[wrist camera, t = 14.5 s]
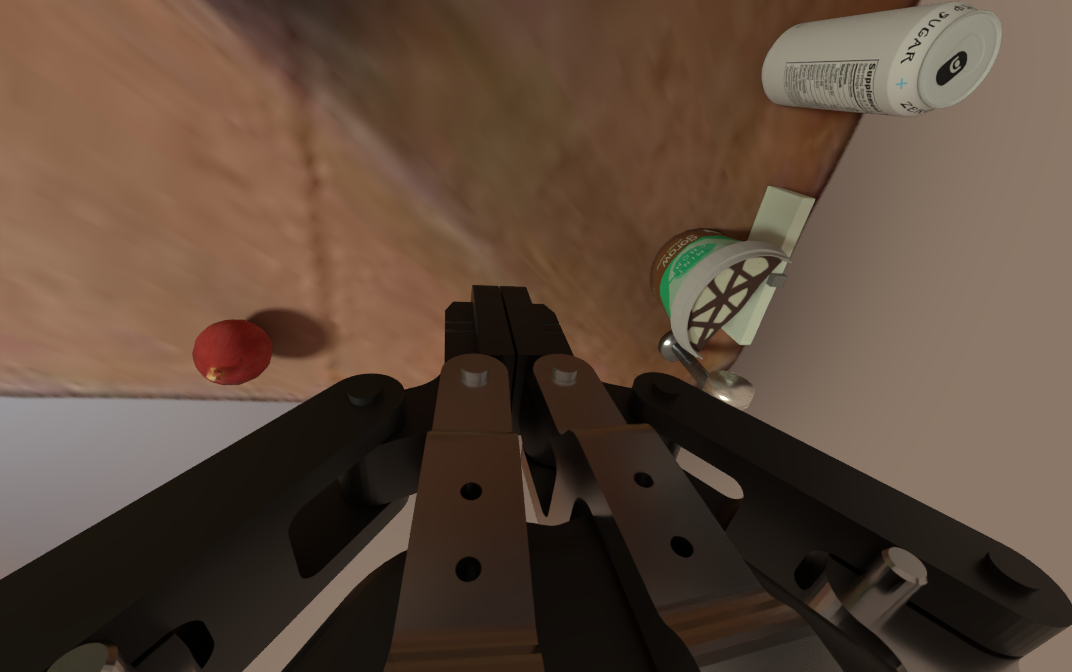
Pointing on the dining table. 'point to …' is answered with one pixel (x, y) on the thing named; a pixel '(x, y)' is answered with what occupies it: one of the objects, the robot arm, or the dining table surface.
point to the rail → (782, 229)
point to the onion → (232, 352)
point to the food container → (708, 281)
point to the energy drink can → (884, 60)
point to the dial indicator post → (709, 375)
